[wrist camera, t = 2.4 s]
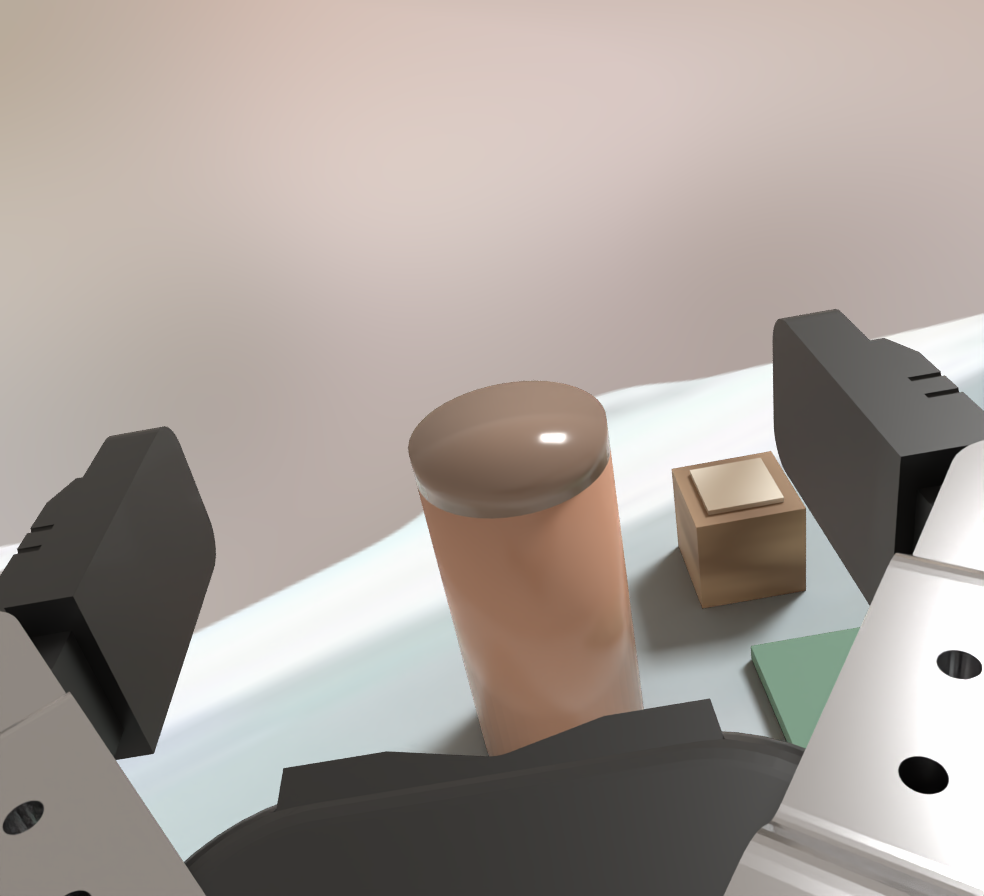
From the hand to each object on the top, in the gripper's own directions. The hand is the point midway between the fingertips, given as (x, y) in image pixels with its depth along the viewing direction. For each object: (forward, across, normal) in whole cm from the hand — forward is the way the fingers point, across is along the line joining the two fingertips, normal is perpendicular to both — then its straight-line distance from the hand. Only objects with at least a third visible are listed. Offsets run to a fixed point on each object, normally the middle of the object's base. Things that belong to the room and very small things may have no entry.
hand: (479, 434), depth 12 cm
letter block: (+18, -8, +19) cm, 28 cm away
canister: (+12, 0, +19) cm, 22 cm away
